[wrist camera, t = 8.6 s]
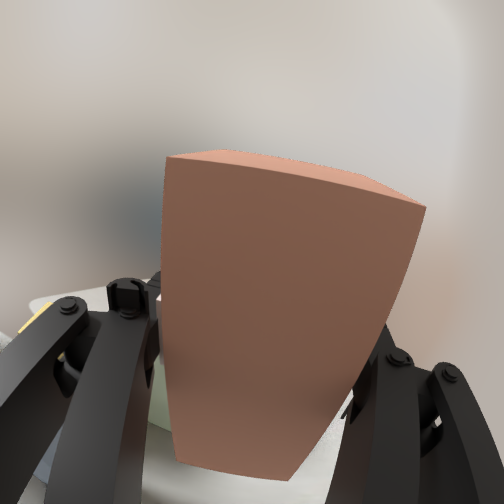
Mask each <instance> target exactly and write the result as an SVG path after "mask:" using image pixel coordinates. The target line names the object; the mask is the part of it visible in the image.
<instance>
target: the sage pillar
mask: <svg viewBox="0 0 504 504" xmlns="http://www.w3.org/2000/svg"><path fill="white" fill-rule="evenodd" d="M154 369H155V374H154V380H153V386H152V393H151V400H150V407H149V415H148V422H150V423H152V424H154V425H157V426H159V427H161V428H163V429H166V430H168V431H170V432H172V431H171V424H170V416H169V408H168V400H167V390H166V380H165V368H164V365H160V359H159V355H158V356H157V358H156V360H155V362H154Z"/></svg>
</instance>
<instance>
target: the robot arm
mask: <svg viewBox="0 0 504 504" xmlns="http://www.w3.org/2000/svg"><path fill="white" fill-rule="evenodd" d="M106 288H107V296H108V304H109V311H108V312H97V311H88V308H87V304H86V302H85V301H84V300H83V299H81V298H80V297H75V296H67V297H64V298H60V299H58V300H57V301H55V302H54V303H53V304H52V305H50V306H49V307H48V308H47V309H46V310H45V311H44V312H42V313H41V314H40V315H39V316H38V317H37V318H36V319H35V320H34V321H33V322H31V323H30V324H29V325H28V326H27V327H26V328H25V329H24V330H23V331H22V332H21V333H20V334H19V335H18V336H17V337H16V338H15V339H13V340H12V341H11V342H10V343H9V344H8V345H7V346H6V347H5V348H4V349H3V350H2V351H1V352H0V504H17V502H18V501H19V499H20V497H21V495H22V493H23V491H24V489H25V487H26V486H27V484H28V482H29V480H30V478H31V477H32V475H33V473H34V471H35V470H36V468H37V466H38V464H39V463H40V461H41V459H42V458H43V456H44V454H45V453H46V451H47V449H48V448H49V446H50V444H51V443H52V441H53V439H54V438H55V436H56V435H57V433H58V431H59V430H60V428H61V427H62V425H63V427H62V431H61V434H60V437H59V441H58V444H57V448H56V451H55V455H54V459H53V463H52V467H51V471H50V475H49V480H48V484H47V489H46V494H45V500H44V504H141V488H142V473H143V461H144V450H145V440H146V431H147V423H148V415H149V407H150V400H151V393H152V386H153V380H154V374H155V369H154V362H155V360H156V358H157V356H158V355H159V359H160V365H164V355H163V339H162V317H161V271H159V272H157V273H156V274H155V275H154V276H153V277H152V278H151V280H149V281H148V282H147V284H146V283H145V282H143V281H142V280H140V279H135V278H121V279H116V280H114V281H113V282H110V283H109V284H108V285H107V286H106ZM62 353H63V356H62V358H60V359H59V360H58V357H59V356H60V355H61V354H62ZM352 390H353V396H354V397H353V398H352V400H351V401H350V403H349V405H348V406H347V408H346V409H345V411H344V412H343V414H342V416H341V418H340V419H344V417H345V416H346V414H347V416H346V421H345V426H344V431H343V436H342V441H341V445H340V450H339V454H338V458H337V462H336V466H335V470H334V474H333V478H332V481H331V485H330V488H329V492H328V495H327V498H326V502H325V504H504V467H503V464H502V462H501V459H500V456H499V453H498V450H497V448H496V445H495V442H494V440H493V437H492V435H491V432H490V430H489V428H488V425H487V423H486V421H485V418H484V416H483V414H482V412H481V410H480V407H479V405H478V403H477V401H476V399H475V397H474V395H473V393H472V391H471V389H470V387H469V385H468V383H467V381H466V379H465V377H464V375H463V374H462V372H461V371H460V370H459V369H458V368H457V367H456V366H455V365H452V364H450V363H447V362H440V363H438V364H437V365H436V366H435V367H434V368H433V370H432V371H427V370H424V369H421V368H418V367H415V366H414V362H413V359H412V358H411V356H410V355H409V354H408V353H407V352H405V351H404V350H402V349H399V348H397V347H396V346H395V344H394V341H393V339H392V336H391V334H390V332H389V329H388V328H387V325H386V323H385V325H384V327H383V329H382V331H381V334H380V336H379V338H378V340H377V342H376V344H375V346H374V348H373V350H372V352H371V354H370V356H369V358H368V360H367V362H366V364H365V366H364V367H363V369H362V371H361V373H360V375H359V377H358V379H357V380H356V382H355V384H354V386H353V387H352ZM438 416H440V418H441V421H442V423H441V424H440V425H439V426H438V427H437V426H436V424H435V420H436V419H437V417H438ZM63 423H64V424H63Z"/></svg>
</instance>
